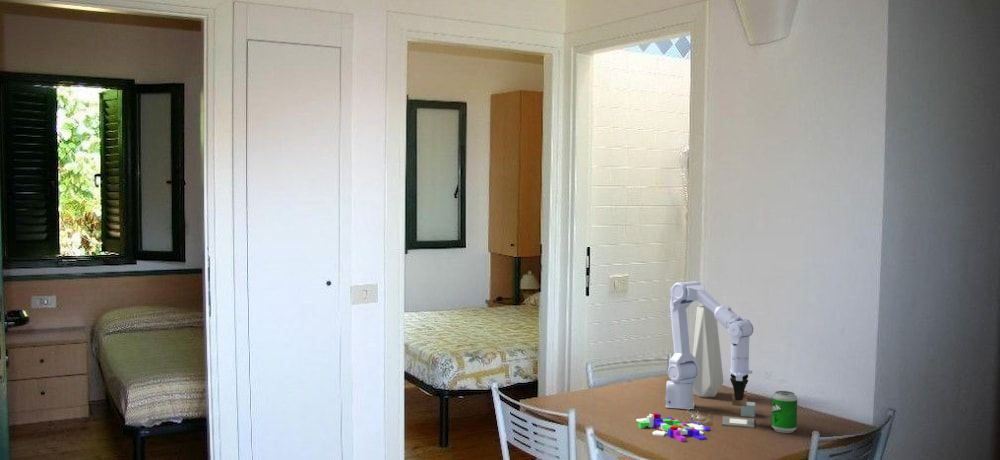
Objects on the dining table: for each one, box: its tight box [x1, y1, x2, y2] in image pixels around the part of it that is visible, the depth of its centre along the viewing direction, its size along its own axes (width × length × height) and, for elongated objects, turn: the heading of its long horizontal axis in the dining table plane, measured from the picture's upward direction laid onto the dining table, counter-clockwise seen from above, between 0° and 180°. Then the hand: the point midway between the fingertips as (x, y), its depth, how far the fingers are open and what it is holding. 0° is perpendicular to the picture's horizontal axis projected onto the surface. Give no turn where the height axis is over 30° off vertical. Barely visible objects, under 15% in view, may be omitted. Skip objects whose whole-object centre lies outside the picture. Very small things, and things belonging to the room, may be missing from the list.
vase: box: [692, 305, 724, 398], centre depth 315 cm, size 12×12×33 cm
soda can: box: [771, 390, 798, 434], centre depth 270 cm, size 8×8×12 cm
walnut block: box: [731, 389, 748, 407], centre depth 278 cm, size 4×4×4 cm
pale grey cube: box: [740, 401, 756, 418], centre depth 289 cm, size 4×4×4 cm
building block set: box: [636, 412, 711, 443], centre depth 271 cm, size 25×20×4 cm
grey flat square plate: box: [721, 415, 755, 429], centre depth 279 cm, size 10×10×1 cm
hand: (738, 398), depth 279 cm, fingers closed on walnut block, 4 cm apart
